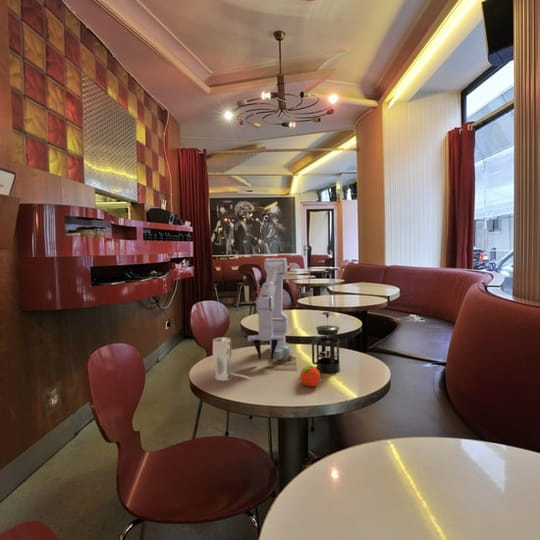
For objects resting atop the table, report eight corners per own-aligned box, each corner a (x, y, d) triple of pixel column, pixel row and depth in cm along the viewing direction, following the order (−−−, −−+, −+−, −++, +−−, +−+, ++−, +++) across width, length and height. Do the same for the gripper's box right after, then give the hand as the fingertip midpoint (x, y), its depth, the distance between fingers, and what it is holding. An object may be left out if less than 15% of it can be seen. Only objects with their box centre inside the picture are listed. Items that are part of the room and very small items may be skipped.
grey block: (270, 363, 150) (271, 350, 150) (280, 356, 159) (281, 344, 158) (282, 365, 148) (282, 352, 147) (291, 358, 157) (292, 346, 156)
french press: (335, 364, 150) (334, 309, 148) (345, 372, 141) (345, 313, 139) (308, 367, 147) (307, 311, 146) (317, 375, 138) (316, 315, 137)
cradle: (268, 358, 160) (268, 352, 160) (295, 358, 159) (295, 352, 159) (266, 372, 142) (266, 365, 142) (296, 372, 141) (296, 365, 141)
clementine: (310, 392, 122) (309, 371, 122) (294, 387, 127) (294, 367, 126) (324, 385, 128) (323, 365, 127) (308, 380, 133) (308, 361, 132)
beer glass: (231, 381, 133) (229, 341, 132) (212, 382, 133) (210, 341, 132) (233, 375, 140) (232, 336, 139) (215, 375, 140) (214, 337, 139)
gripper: (246, 327, 145) (247, 361, 145) (283, 327, 144) (283, 361, 145) (248, 324, 152) (249, 356, 152) (283, 323, 151) (283, 356, 152)
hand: (266, 358), depth 149 cm, fingers open, 4 cm apart
